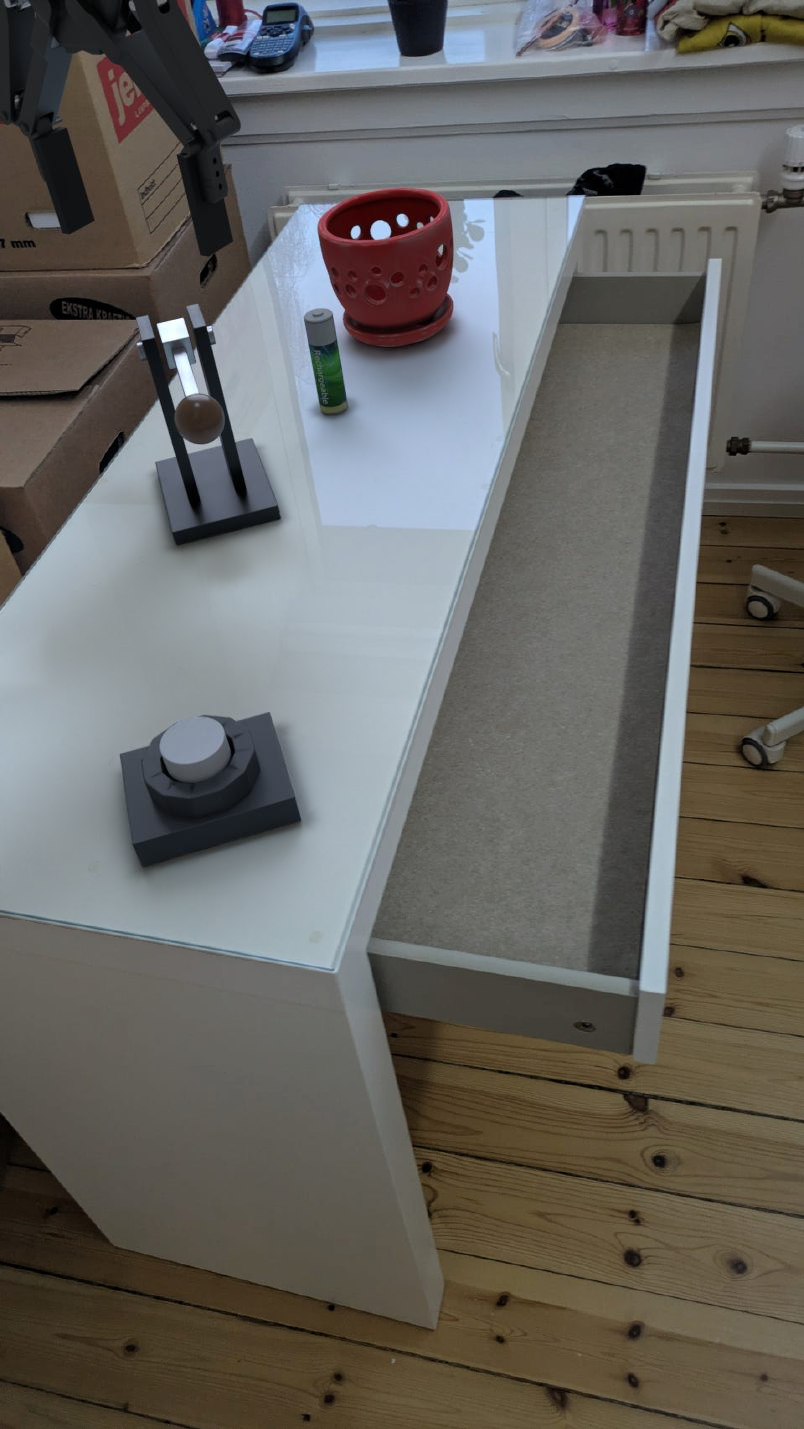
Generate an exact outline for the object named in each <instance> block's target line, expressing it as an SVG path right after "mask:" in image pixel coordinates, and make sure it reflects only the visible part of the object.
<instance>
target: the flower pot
mask: <svg viewBox="0 0 804 1429" xmlns="http://www.w3.org/2000/svg"><path fill="white" fill-rule="evenodd" d="M400 215H404V216H406V217H407V221H408V222H407V224H406V225H405V226H403V225H400V224H399V222H398V217H399V216H400ZM431 218H432V219H431ZM380 221H382V222H384V223H385V224H387V225H388V226H389V229H390V234H389V236H388V237H387V238H380V239H375V238H374V237H373V234H372V227H373V225H374V224H375V223H376V222H380ZM419 223H420V224H422V226H421V227H419V228H418V224H419ZM354 227H358V228H359V234H358V236H357V237H356V238H355V237H353V235H352V231H353V229H354ZM316 229H317V230H316V231H317V236H318V241H319V247H320V248H319V249H320V252H321V255H322V260H323V263H324V266H325V268H326V271H327V275H328V277H329V281H330V285H331V288H332V290H333V293H334V295H335V296H336V298H337V301H338V302H339V303H340V305H341V306H342V308H343V310H344V311H343V314H342V324H343V326H344V329H345V330H346V331H347V333H348V334H349V335H350V336H352V337H353V338H354V339H356V340H358V341H359V342H362V343H364V344H367V345H371V346H375V347H383V348H384V347H386V348H390V347H393V348H394V347H400V346H401V347H402V346H407V345H411V344H414V343H418V342H424V341H426V340H427V339H428V338H430V337H432V336H434V335H435V334H438V333H439V332H441V330H442V329H443V328H444V327H446V325H448V323H449V321H450V320H451V318H452V315H453V313H454V306H455V305H454V300H453V298H452V296H451V295H450V294H449V293H448V291H449V288H450V286H451V285H450V284H451V281H452V275H453V269H454V258H455V257H454V256H455V255H454V252H455V251H454V250H455V247H454V243H455V242H454V230H453V220H452V214H451V208H450V205H449V202H448V200H447V199H446V198H445V197H444V196H443V195H441V194H440V193H437V192H435V191H433V190H429V189H425V188H417V187H393V188H384V189H383V188H382V189H378V190H372V191H368V192H363V193H360V194H357V195H354V196H351V197H349V198H347V199H345V200H343V201H341V202H339V203H337V204H335V205H334V206H332V207H330V208H329V209H328V210H327V211H325V212H324V214H322V215H321V217H320V218H319V220H318V222H317V227H316ZM441 247H442V252H440V250H439V249H440V248H441Z"/></svg>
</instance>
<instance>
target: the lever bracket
mask: <svg viewBox="0 0 804 1429" xmlns="http://www.w3.org/2000/svg"><path fill="white" fill-rule="evenodd" d="M185 309H186V313H187V317H188V321H189V325H190V330H191V333H192V337H193V340H194V344H195V348H196V352H197V356H198V360H199V364H200V367H201V370H202V375H203V379H204V382H205V386H206V390H207V391H206V392H207V395H208V396H210V397H212V398H214V399H215V400H216V401H217V402H218V403H219V405H220V406H221V408H222V410H223V412H224V417H225V423H224V428H223V430H222V432H221V434H220V435H219V437H218V438H219V441H220V444H221V445H218V446H213V447H208V448H206V449H201V450H198V451H194V452H190V453H188V449H187V447H186V442H185V439H184V438H183V437H182V436H181V435H180V433H179V432H178V430H177V428H176V425H175V419H174V416H175V411H176V407H175V404H174V401H173V396H172V394H171V389H170V386H169V382H168V380H167V379H168V378H167V376H166V372H165V369H164V365H163V361H162V358H161V355H160V352H159V347H158V344H157V341H156V338H155V337H156V336H155V334H154V330H153V327H152V323H151V320H150V316H149V314H146V315H143V316H137V317H136V318H135V320H136V325H137V328H138V331H139V336H140V340H141V341H140V342H139V341H138V342H136V349H137V352H138V355H139V356H138V357H139V359H140V361H141V362H146V361H147V363H148V364H147V365H148V367H149V371H150V374H151V377H152V381H153V384H154V388H155V390H156V394H157V398H158V401H159V404H160V405H159V406H160V407H161V411H162V414H163V418H164V422H165V425H166V428H167V432H168V435H169V439H170V442H171V446H172V449H173V452H174V455H175V456H173V457H170V458H169V457H168V458H165V459H160V460H157V461H155V462H154V463H155V468H156V472H157V475H158V481H159V485H160V490H161V493H162V497H163V498H162V499H163V501H164V506H165V509H166V514H167V517H168V522H169V526H170V531H171V534H172V537H173V541H174V544H175V545H176V546H178V545H183V544H187V543H190V542H195V541H198V540H203V539H206V538H210V537H213V536H218V535H221V534H225V533H229V532H233V531H237V530H240V529H244V528H245V529H246V528H249V527H253V526H256V525H260V524H264V523H267V522H272V521H277V520H280V519H281V518H282V516H281V511H280V507H279V504H278V501H277V499H276V496H275V493H274V491H273V489H272V486H271V484H270V481H269V477H268V475H267V473H266V469H265V467H264V464H263V462H262V459H261V456H260V454H259V451H258V449H257V447H256V444H255V442H254V439H253V438H252V437H250V438H246V439H242V440H238V441H237V440H235V435H234V431H233V427H232V424H231V418H230V416H229V411H228V407H227V402H226V400H225V396H224V390H223V386H222V382H221V379H220V375H219V370H218V367H217V363H216V358H215V354H214V350H213V347H212V346H213V345H217V340H216V336H215V332H214V328H213V326H212V325H208V326H207V324H206V321H205V318H204V316H203V313H202V310H201V307H200V305H199V303H195V304H190V305H186V306H185Z"/></svg>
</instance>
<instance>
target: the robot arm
mask: <svg viewBox="0 0 804 1429" xmlns="http://www.w3.org/2000/svg"><path fill="white" fill-rule="evenodd" d="M127 33H129V34H128V35H127ZM82 51H83V52H85V53H87V54H90V55H93V56H102V55H104V56H106V58H107V59H108V60H109V61H110V63H112V64H114V65H117V66H120V67H121V68H122V69H123V71H125V73H126V74H127V75H128V77H129V78H130V79H131V81H132V82H133V83H134V85H135V86H136V87H137V88H138V90H139V91H140V93H141V94H142V95H143V96H144V97H145V99H146V100H147V101H148V103H149V104H150V105H151V106H152V108H153V109H154V110H155V111H156V113H157V114H158V115H159V117H160V118H161V119H162V120H163V122H164V123H165V124H166V125H167V127H168V128H169V130H170V131H171V132H172V133H173V135H174V136H175V137H176V139H177V140H178V141H179V143H180V144H181V145H182V146H183V148H182V149H181V150H180V152H179V153H176V159H177V163H178V168H179V171H180V175H181V180H182V185H183V188H184V192H185V197H186V200H187V204H188V209H189V213H190V218H191V222H192V226H193V230H194V234H195V238H196V244H197V247H198V251H199V255H200V256H202V257H208V258H209V257H211V256H213V255H214V254H216V253H217V252H219V251H220V250H222V249H224V248H225V247H227V246H228V245H230V244H232V243H234V238H233V232H232V229H231V224H230V219H229V215H228V212H227V205H226V201H225V198H226V197H228V193H229V192H228V191H229V187H228V181H227V178H226V173H225V167H224V162H223V157H222V153H221V143H222V141H224V140H226V139H228V138H230V137H232V136H233V135H235V134H237V133H239V132H240V131H241V128H242V122H241V120H240V117H239V116H238V114H237V112H236V110H235V108H234V107H233V104H232V102H231V101H230V98H229V97H228V95H227V93H226V91H225V90H224V87H223V85H222V84H221V82H220V80H219V78H218V76H217V75H216V73H215V71H214V69H213V67H212V65H211V63H210V61H209V59H208V57H207V56H206V54H205V52H204V50H203V48H202V46H201V44H200V42H199V41H198V39H197V37H196V35H195V34H194V31H193V29H192V28H191V26H190V24H189V22H188V20H187V18H186V17H185V15H184V12H183V10H182V9H181V7H180V5H179V2H178V0H0V121H1V123H3V124H4V125H5V126H10V125H14V126H16V127H18V128H19V130H20V132H21V133H22V135H24V136H25V137H27V138H28V142H29V144H30V147H31V150H32V154H33V157H34V160H35V163H36V165H37V169H38V172H39V176H41V178H42V180H43V182H44V183H45V184H46V187H47V190H48V193H49V196H50V199H51V203H52V205H53V208H54V212H55V214H56V217H57V221H58V223H59V224H58V225H59V227H60V230H61V233H62V234H64V235H72V234H73V233H75V232H77V231H79V230H80V229H82V228H85V227H86V226H88V225H89V224H91V223H93V222H95V221H96V219H95V216H94V213H93V211H92V207H91V203H90V200H89V196H88V193H87V190H86V187H85V184H84V179H83V177H82V174H81V170H80V167H79V163H78V160H77V157H76V153H75V150H74V146H73V144H72V140H71V137H70V133H69V129H68V127H67V126H58V127H55V128H54V127H53V126H56V125H58V124H60V123H61V122H63V120H64V118H61V115H59V111H60V107H61V103H62V99H63V95H64V91H65V87H66V84H67V79H68V75H69V70H70V67H71V63H72V60H73V54H77V53H78V54H79V53H80V52H82ZM16 96H17V99H16ZM193 126H194V127H195V128H194V127H193Z"/></svg>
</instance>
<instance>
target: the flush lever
mask: <svg viewBox="0 0 804 1429" xmlns="http://www.w3.org/2000/svg"><path fill="white" fill-rule="evenodd" d="M156 329H157V331H158V336H159V339H160V343H161V347H162V350H163V353H164V357H165V361H166V363H167V367H168V370H173V369H176V372H177V376H178V378H179V382H180V385H181V388H182V393H183V395H184V398H182V399H180V401H179V403H178V404H177V405H176V407H175V416H174V419H175V425H176V428H177V430H178V432H179V433H180V435H181V436H182V437H183V439H184V440H185V441H187V442H189V443H191V444H194V445H200V446H201V445H207V444H210V443H213V442H214V441H216V440H217V439H218V438H220V437H219V435H220V434H221V432H222V430H223V428H224V423H225V417H224V412H223V410H222V408H221V406H220V405H219V403H218V402H217V401H216V400H215V399H214V398H212V397H210V396H209V395H208V394H206V393H201V392H200V389H199V386H198V383H197V380H196V376H195V374H194V371H193V367H192V365H194V364H197V359H196V355H195V351H194V347H193V344H192V339H191V336H190V333H189V332H190V331H189V329H188V326H187V323H186V320H185V318H184V317H181V318H177V319H172V320H168V321H164V322H163V321H162V322H159V323H156Z"/></svg>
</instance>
